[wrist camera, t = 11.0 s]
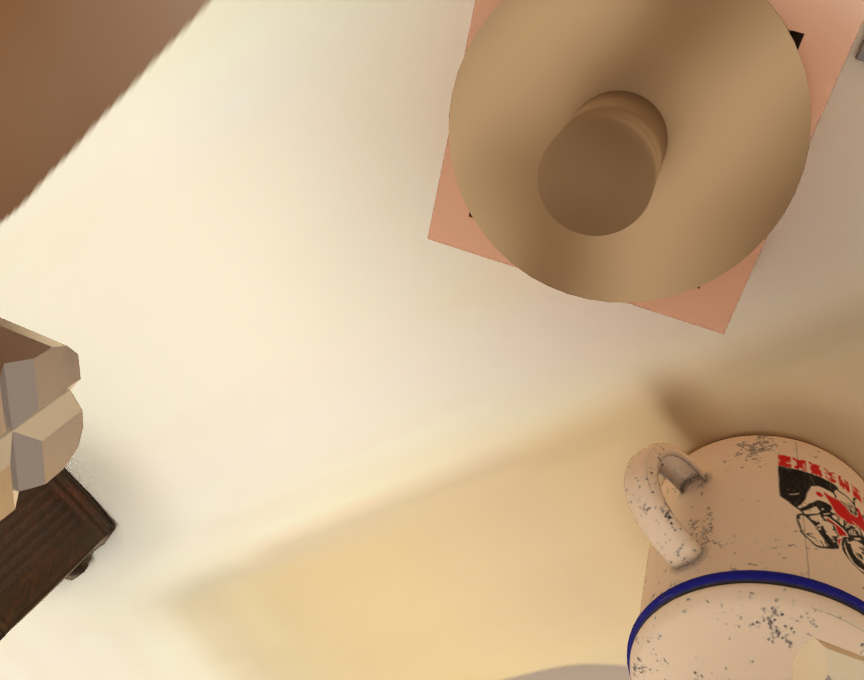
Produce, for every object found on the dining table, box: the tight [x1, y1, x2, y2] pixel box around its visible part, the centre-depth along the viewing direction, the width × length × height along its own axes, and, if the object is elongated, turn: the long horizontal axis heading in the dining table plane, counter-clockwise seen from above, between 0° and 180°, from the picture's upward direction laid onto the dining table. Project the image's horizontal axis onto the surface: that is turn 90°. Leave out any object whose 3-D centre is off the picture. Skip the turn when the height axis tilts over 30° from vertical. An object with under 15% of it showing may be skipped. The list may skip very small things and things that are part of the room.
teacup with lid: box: [624, 435, 864, 680], centre depth 28 cm, size 12×9×12 cm
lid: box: [449, 0, 811, 303], centre depth 21 cm, size 10×10×5 cm
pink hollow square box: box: [428, 0, 864, 334], centre depth 25 cm, size 10×10×5 cm
